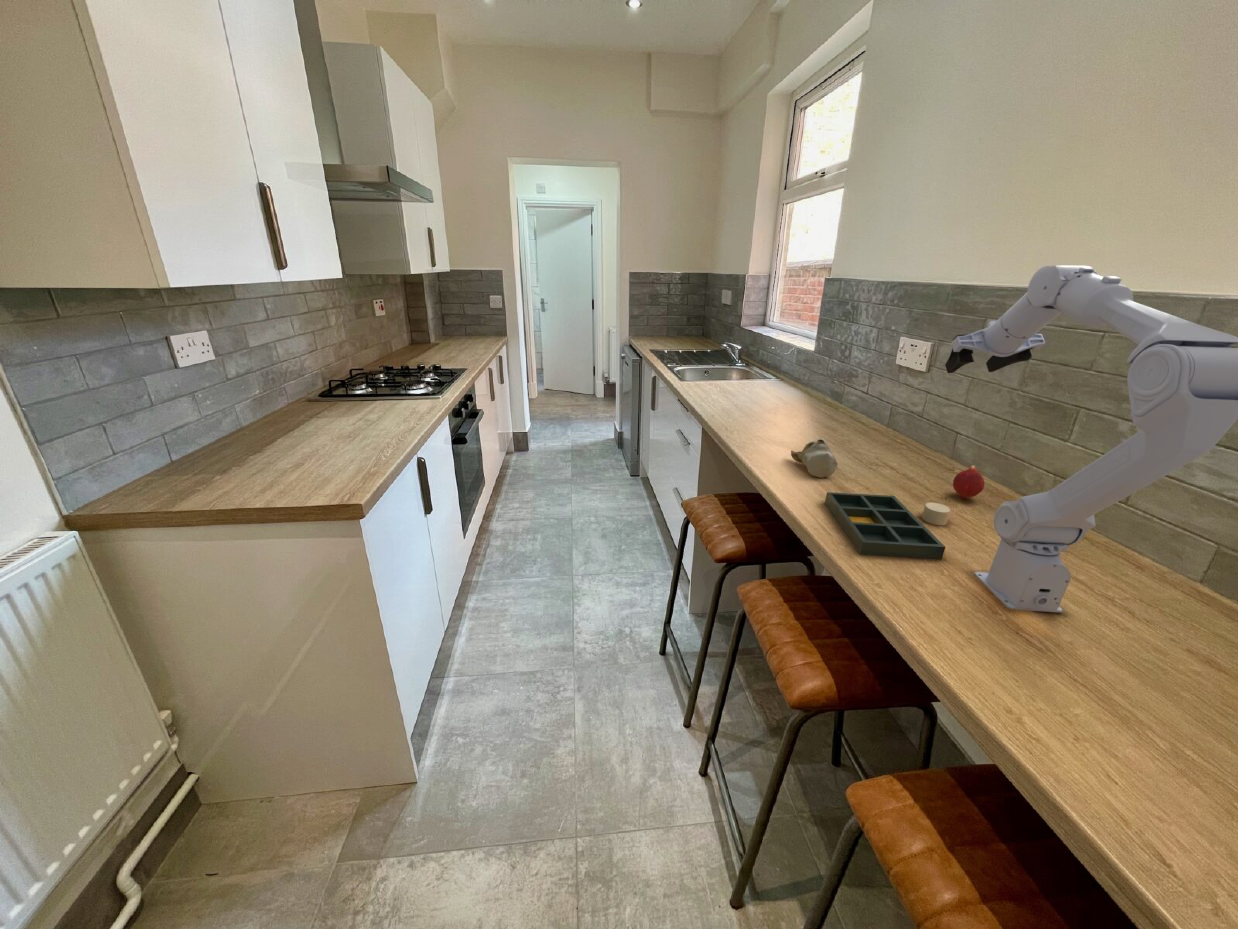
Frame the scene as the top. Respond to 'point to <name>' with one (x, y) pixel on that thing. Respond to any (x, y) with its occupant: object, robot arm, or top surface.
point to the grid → (883, 526)
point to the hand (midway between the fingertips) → (968, 368)
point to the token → (936, 513)
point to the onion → (968, 483)
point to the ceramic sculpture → (817, 459)
